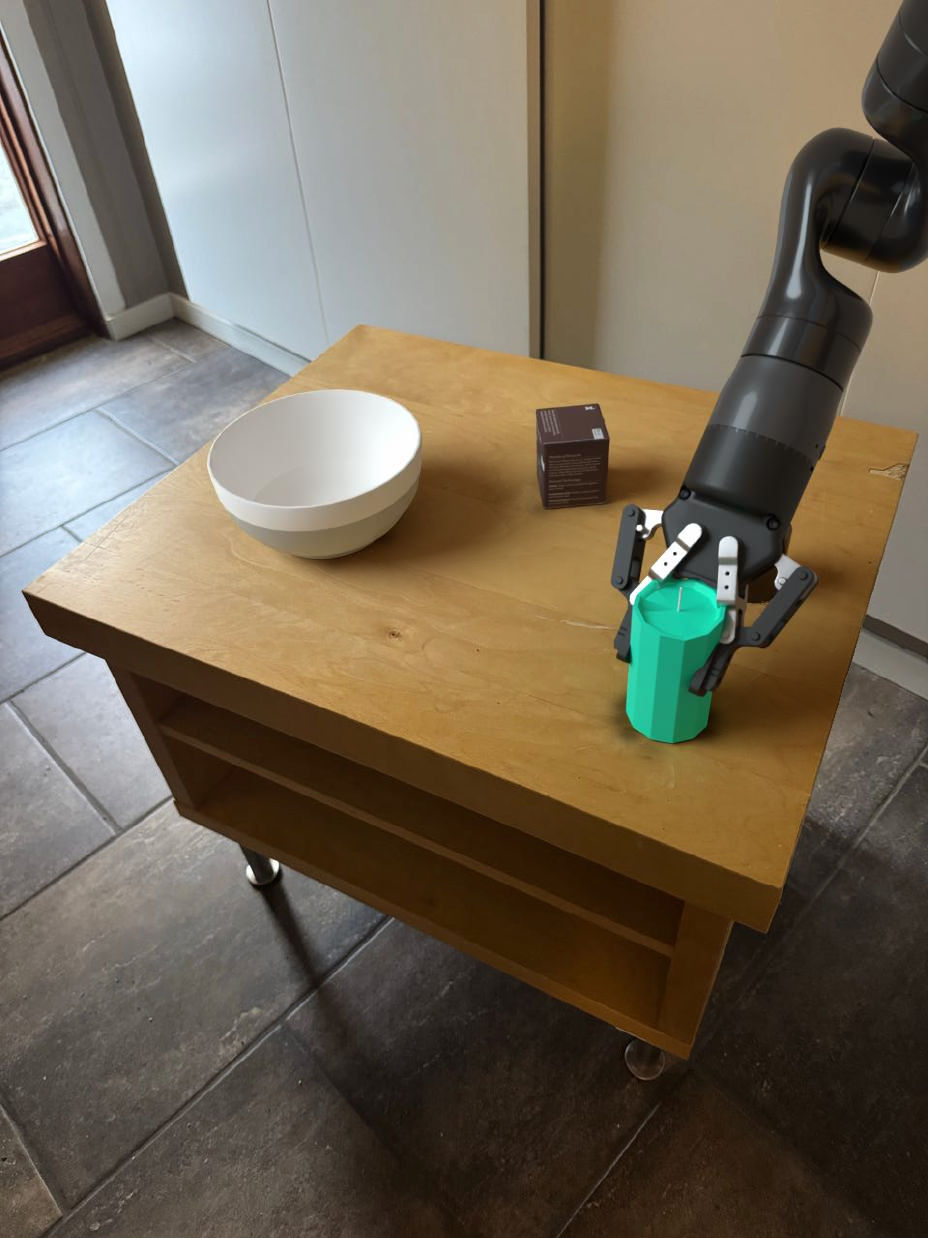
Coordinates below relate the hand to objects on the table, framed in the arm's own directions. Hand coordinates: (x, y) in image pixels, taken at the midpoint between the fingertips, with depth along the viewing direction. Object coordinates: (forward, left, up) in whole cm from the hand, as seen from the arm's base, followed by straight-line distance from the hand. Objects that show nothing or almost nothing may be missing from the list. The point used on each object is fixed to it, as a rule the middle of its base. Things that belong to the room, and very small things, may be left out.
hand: (660, 676), depth 63 cm
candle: (0, -2, -6) cm, 6 cm away
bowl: (+37, +1, -6) cm, 38 cm away
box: (+24, -18, -6) cm, 31 cm away
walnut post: (+4, -18, -6) cm, 19 cm away
